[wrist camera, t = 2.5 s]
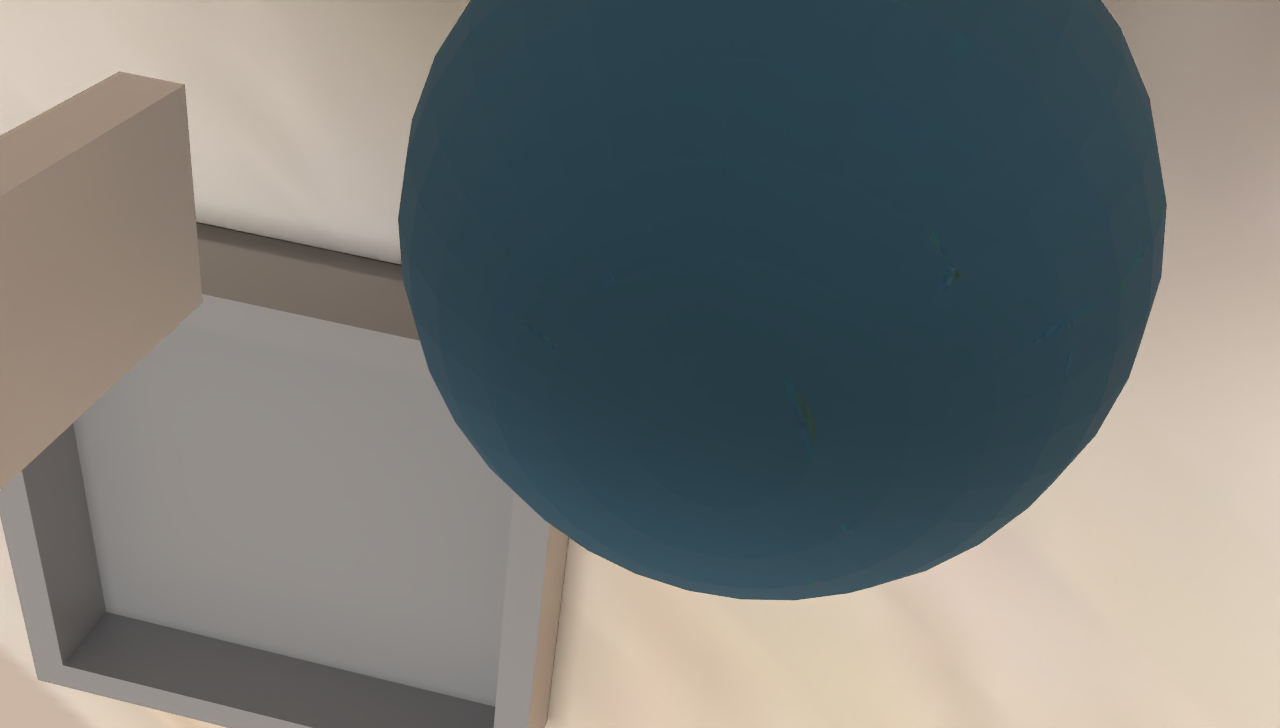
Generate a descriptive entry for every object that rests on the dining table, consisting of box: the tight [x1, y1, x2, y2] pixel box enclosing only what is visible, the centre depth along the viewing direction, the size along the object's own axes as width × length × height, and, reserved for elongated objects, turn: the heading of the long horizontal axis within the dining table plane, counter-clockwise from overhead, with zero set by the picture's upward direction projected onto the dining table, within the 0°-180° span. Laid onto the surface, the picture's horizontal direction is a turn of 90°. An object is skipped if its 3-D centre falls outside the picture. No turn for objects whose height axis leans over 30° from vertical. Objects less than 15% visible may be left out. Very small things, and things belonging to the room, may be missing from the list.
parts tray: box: [0, 223, 569, 728], centre depth 27 cm, size 13×13×2 cm
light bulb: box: [398, 0, 1167, 600], centre depth 15 cm, size 8×8×12 cm
